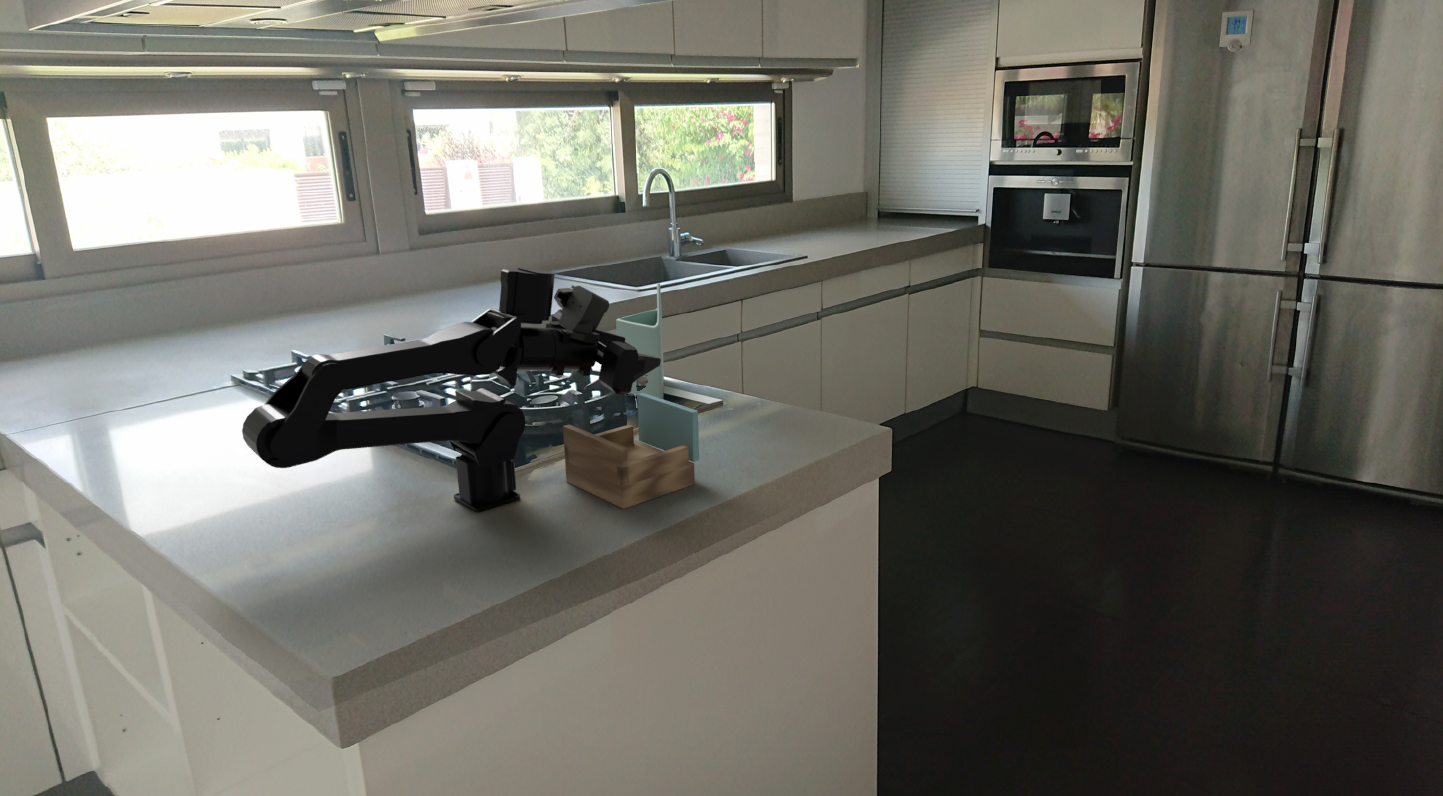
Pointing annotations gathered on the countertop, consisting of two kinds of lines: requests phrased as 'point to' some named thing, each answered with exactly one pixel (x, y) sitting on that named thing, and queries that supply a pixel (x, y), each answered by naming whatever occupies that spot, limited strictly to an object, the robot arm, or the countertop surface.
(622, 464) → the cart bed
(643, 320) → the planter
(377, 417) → the robot arm
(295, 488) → the countertop surface
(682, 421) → the panel
